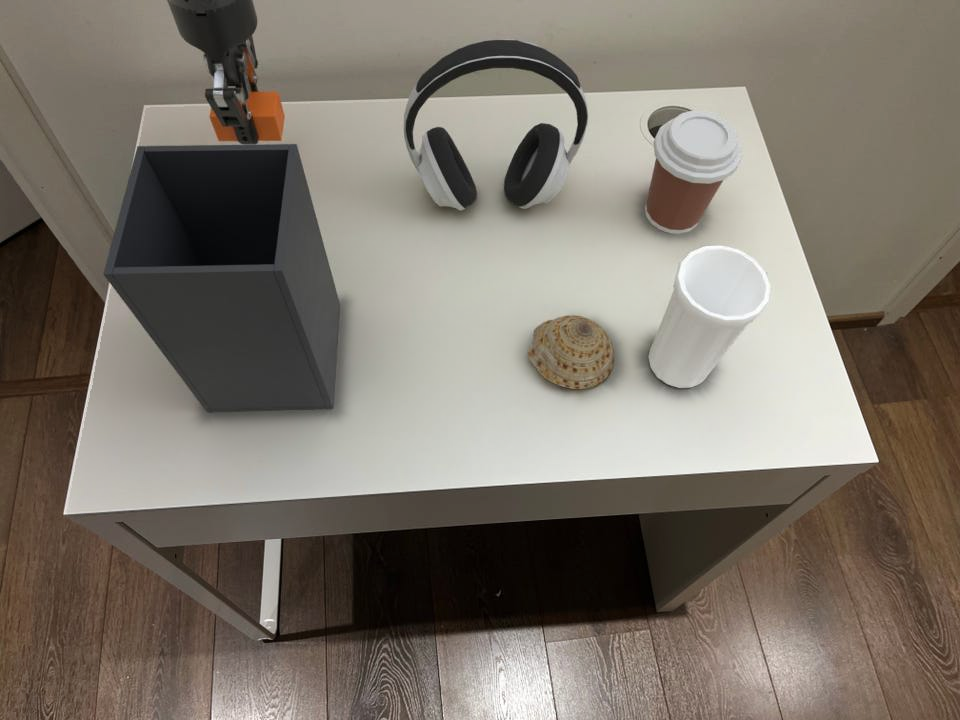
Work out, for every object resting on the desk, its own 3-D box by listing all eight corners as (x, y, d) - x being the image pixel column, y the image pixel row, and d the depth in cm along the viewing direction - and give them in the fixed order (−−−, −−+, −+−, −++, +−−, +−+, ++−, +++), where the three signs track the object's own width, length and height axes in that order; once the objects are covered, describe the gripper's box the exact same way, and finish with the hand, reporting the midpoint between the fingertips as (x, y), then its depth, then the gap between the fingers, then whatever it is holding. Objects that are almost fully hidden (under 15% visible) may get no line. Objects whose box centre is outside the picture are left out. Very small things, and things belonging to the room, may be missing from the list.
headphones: (411, 227, 79) (397, 80, 62) (408, 172, 84) (395, 20, 66) (577, 219, 81) (610, 72, 63) (567, 165, 85) (594, 14, 67)
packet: (218, 141, 78) (208, 116, 75) (223, 116, 80) (214, 91, 77) (281, 141, 79) (274, 116, 76) (285, 116, 81) (278, 91, 77)
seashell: (515, 322, 71) (588, 290, 69) (531, 343, 76) (600, 314, 74) (538, 392, 67) (616, 360, 66) (554, 410, 72) (627, 381, 70)
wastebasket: (206, 412, 68) (102, 274, 48) (223, 307, 74) (137, 145, 54) (333, 408, 68) (282, 270, 49) (340, 304, 74) (296, 143, 54)
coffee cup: (617, 201, 82) (641, 121, 72) (678, 172, 85) (709, 91, 74) (665, 254, 78) (697, 178, 68) (727, 223, 81) (767, 145, 70)
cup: (622, 355, 72) (656, 273, 60) (677, 316, 75) (721, 229, 62) (678, 413, 69) (726, 338, 56) (734, 370, 72) (792, 289, 59)
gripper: (176, -63, 68) (226, 85, 83) (148, 31, 61) (209, 174, 76) (254, -63, 68) (290, 85, 83) (236, 31, 61) (279, 173, 76)
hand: (251, 126), depth 79 cm, fingers closed on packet, 4 cm apart
